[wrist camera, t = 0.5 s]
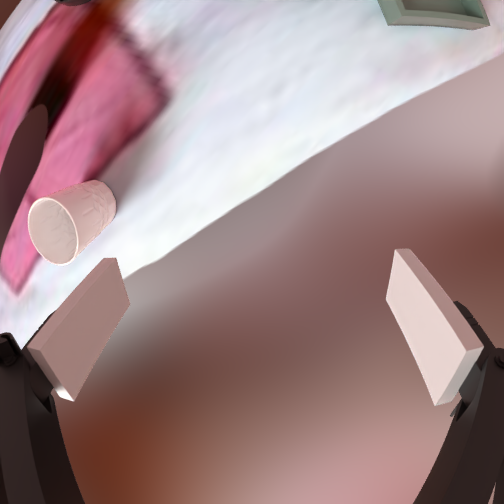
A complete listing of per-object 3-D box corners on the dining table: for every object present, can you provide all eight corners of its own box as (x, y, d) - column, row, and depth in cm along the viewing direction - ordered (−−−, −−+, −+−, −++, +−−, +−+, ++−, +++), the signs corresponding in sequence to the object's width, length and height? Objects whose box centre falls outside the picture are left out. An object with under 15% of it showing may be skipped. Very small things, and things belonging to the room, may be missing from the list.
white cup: (99, 163, 39) (50, 182, 28) (131, 212, 42) (91, 245, 31) (65, 196, 41) (19, 222, 30) (94, 241, 44) (55, 276, 34)
